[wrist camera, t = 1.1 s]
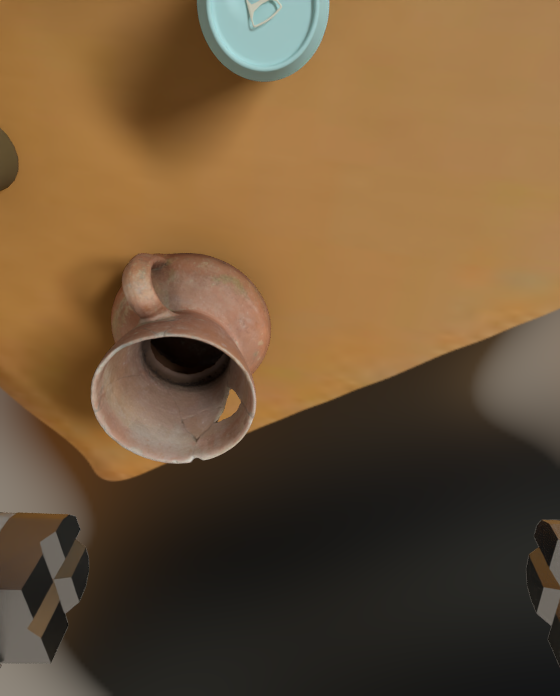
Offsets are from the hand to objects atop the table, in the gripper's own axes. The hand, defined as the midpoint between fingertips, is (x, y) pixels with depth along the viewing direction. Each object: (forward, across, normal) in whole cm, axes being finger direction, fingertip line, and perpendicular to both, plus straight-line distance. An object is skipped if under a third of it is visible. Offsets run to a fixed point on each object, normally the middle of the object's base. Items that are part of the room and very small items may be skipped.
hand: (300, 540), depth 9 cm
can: (+36, +3, -12) cm, 38 cm away
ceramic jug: (+38, +11, +11) cm, 41 cm away
